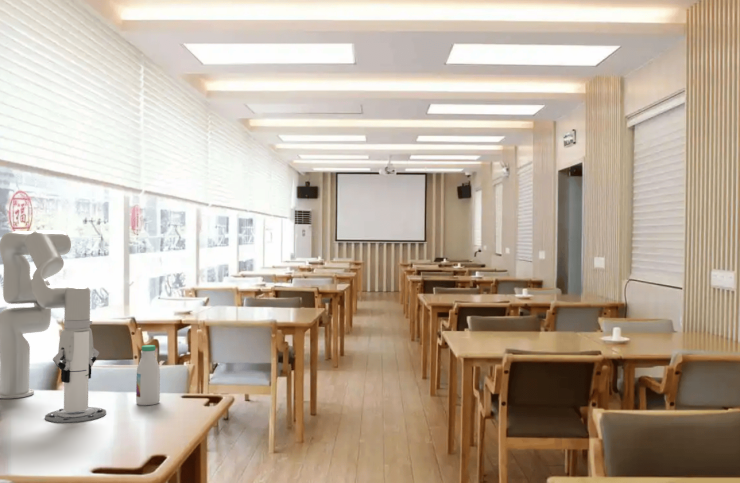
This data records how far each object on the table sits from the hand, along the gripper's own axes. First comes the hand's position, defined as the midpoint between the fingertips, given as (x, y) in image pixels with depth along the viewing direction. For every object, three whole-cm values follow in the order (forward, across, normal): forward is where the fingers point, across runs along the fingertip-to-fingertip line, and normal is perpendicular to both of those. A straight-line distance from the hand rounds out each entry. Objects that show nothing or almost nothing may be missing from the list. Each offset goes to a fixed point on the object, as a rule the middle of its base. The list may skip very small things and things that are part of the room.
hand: (76, 379), depth 217 cm
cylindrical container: (+10, 0, 0) cm, 10 cm away
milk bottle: (+12, -24, +6) cm, 27 cm away
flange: (+12, 0, 0) cm, 12 cm away
